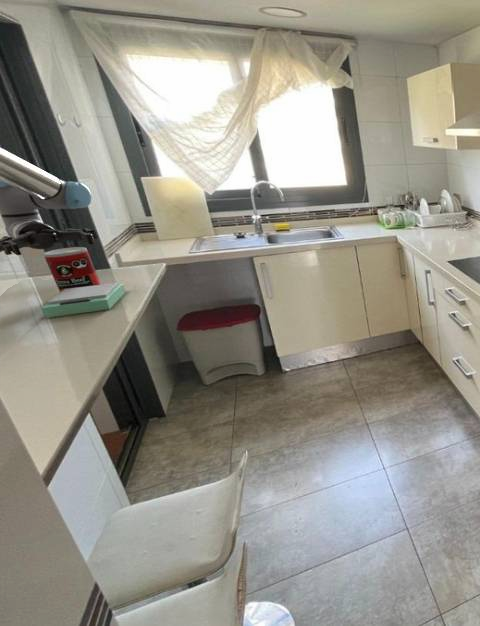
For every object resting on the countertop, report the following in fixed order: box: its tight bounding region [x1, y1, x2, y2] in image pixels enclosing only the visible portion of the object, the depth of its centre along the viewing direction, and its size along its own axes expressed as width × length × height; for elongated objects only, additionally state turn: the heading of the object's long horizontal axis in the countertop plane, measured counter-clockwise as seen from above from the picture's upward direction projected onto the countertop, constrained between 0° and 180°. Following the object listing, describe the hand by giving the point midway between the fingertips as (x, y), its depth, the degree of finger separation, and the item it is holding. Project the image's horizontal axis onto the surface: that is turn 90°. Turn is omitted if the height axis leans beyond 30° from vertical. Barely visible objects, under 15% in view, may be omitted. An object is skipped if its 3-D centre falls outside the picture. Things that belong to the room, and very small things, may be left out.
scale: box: [41, 282, 126, 319], centre depth 110 cm, size 11×14×3 cm
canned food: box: [43, 246, 102, 293], centre depth 117 cm, size 8×8×11 cm
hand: (55, 244), depth 120 cm, fingers open, 13 cm apart
